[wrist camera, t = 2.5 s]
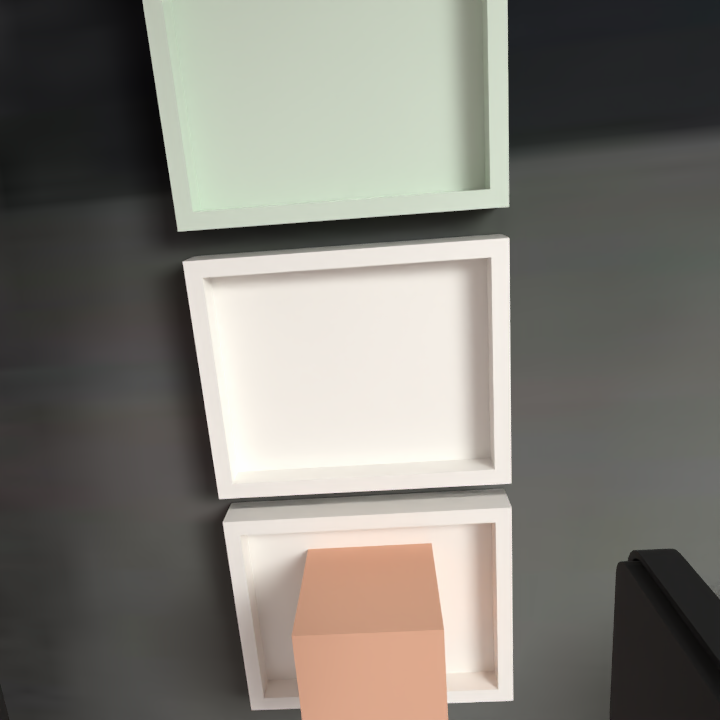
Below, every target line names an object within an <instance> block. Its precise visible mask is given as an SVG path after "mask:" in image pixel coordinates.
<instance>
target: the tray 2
mask: <svg viewBox="0 0 720 720" xmlns="http://www.w3.org/2000/svg"><path fill="white" fill-rule="evenodd" d="M183 268H184V274H185V281H186V287H187V294H188V300H189V307H190V313H191V320H192V326H193V333H194V339H195V346H196V352H197V359H198V365H199V372H200V378H201V385H202V391H203V398H204V404H205V411H206V417H207V424H208V430H209V437H210V443H211V450H212V456H213V463H214V469H215V476H216V482H217V489H218V495H219V499H230V498H249V497H267V496H286V495H305V494H323V493H342V492H361V491H380V490H398V489H417V488H436V487H454V486H473V485H492V484H510V483H511V378H510V255H509V237H506V236H504V235H502V234H493V235H479V236H466V237H452V238H438V239H425V240H411V241H397V242H384V243H370V244H356V245H343V246H329V247H315V248H301V249H288V250H274V251H260V252H247V253H233V254H219V255H206V256H195V257H192V258H190V259H187V260H185V261H183Z"/></svg>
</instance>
